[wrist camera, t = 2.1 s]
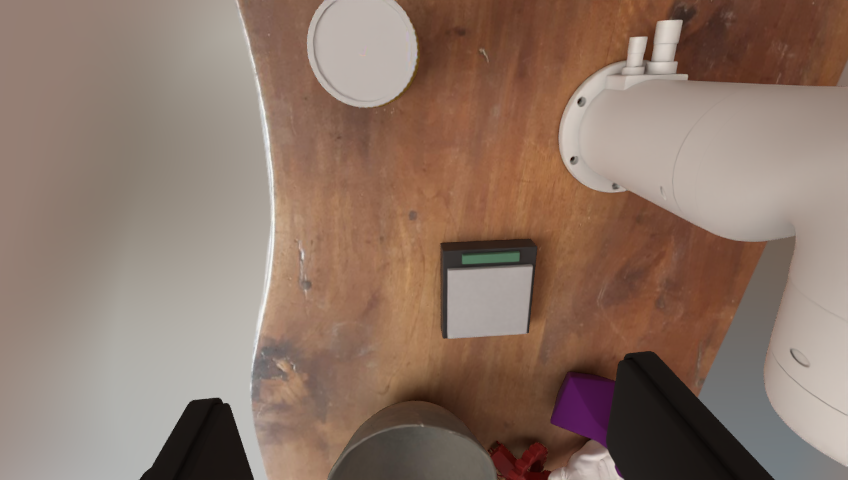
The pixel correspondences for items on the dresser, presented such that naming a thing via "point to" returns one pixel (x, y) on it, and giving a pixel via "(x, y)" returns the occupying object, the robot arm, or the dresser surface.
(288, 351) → the dresser surface
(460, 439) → the bowl
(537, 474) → the red toothed curved piece
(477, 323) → the scale
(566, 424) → the perfume bottle
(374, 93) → the bottle
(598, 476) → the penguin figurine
